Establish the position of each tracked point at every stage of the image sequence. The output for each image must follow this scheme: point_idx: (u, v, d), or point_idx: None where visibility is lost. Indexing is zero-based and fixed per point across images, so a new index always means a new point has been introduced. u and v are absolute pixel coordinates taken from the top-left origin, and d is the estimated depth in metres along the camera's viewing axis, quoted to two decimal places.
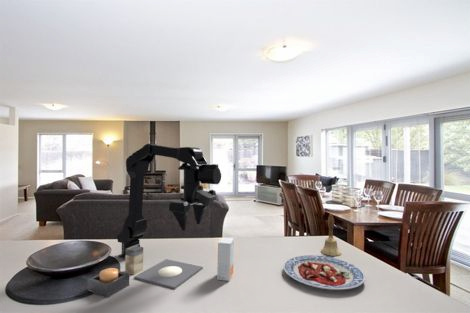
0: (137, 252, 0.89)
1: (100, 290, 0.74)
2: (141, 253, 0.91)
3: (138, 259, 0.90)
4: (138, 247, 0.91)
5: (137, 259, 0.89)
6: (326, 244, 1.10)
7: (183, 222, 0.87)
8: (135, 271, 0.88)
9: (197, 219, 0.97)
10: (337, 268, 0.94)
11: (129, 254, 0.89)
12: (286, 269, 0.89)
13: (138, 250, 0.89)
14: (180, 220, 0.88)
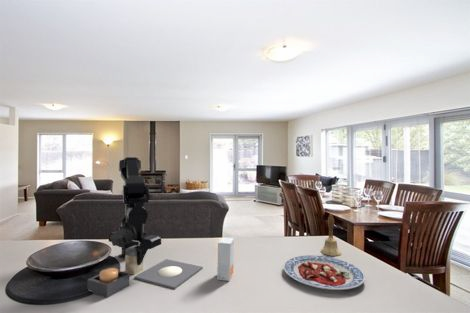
0: None
1: (100, 290, 0.74)
2: None
3: None
4: None
5: None
6: (326, 244, 1.10)
7: None
8: (135, 271, 0.88)
9: None
10: (337, 268, 0.94)
11: (129, 254, 0.89)
12: (286, 269, 0.89)
13: None
14: None
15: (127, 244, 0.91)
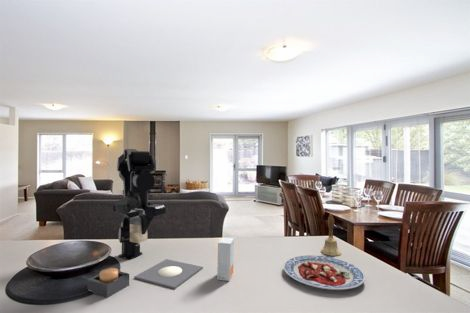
0: None
1: (100, 290, 0.74)
2: None
3: None
4: None
5: None
6: (326, 244, 1.10)
7: None
8: (139, 240, 0.88)
9: None
10: (337, 268, 0.94)
11: (134, 222, 0.88)
12: (286, 269, 0.89)
13: None
14: None
15: (131, 214, 0.91)
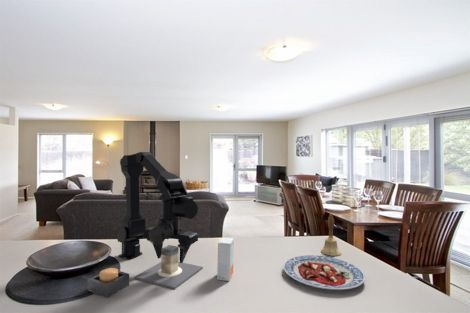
0: (173, 252, 0.88)
1: (100, 290, 0.74)
2: (177, 253, 0.89)
3: (174, 258, 0.88)
4: (173, 247, 0.90)
5: (173, 259, 0.88)
6: (326, 244, 1.10)
7: None
8: (171, 271, 0.87)
9: None
10: (337, 268, 0.94)
11: (166, 253, 0.87)
12: (286, 269, 0.89)
13: (174, 250, 0.88)
14: None
15: None
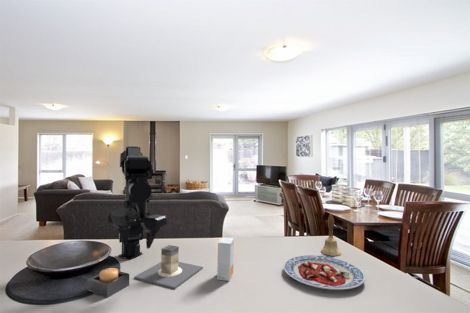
0: (173, 252, 0.88)
1: (100, 290, 0.74)
2: (177, 253, 0.89)
3: (174, 258, 0.88)
4: (173, 247, 0.90)
5: (173, 259, 0.88)
6: (326, 244, 1.10)
7: None
8: (171, 271, 0.87)
9: None
10: (337, 268, 0.94)
11: (166, 253, 0.87)
12: (286, 269, 0.89)
13: (174, 250, 0.88)
14: None
15: None
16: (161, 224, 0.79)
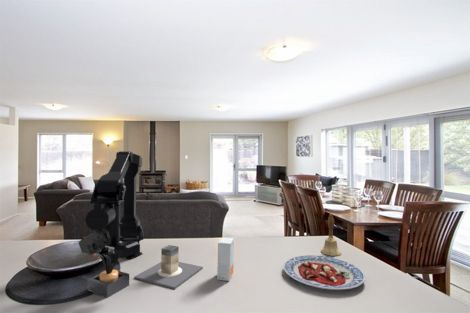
0: (173, 252, 0.88)
1: (100, 290, 0.74)
2: (177, 253, 0.89)
3: (174, 258, 0.88)
4: (173, 247, 0.90)
5: (173, 259, 0.88)
6: (326, 244, 1.10)
7: None
8: (171, 271, 0.87)
9: None
10: (337, 268, 0.94)
11: (166, 253, 0.87)
12: (286, 269, 0.89)
13: (174, 250, 0.88)
14: None
15: (106, 251, 0.78)
16: (133, 251, 0.75)
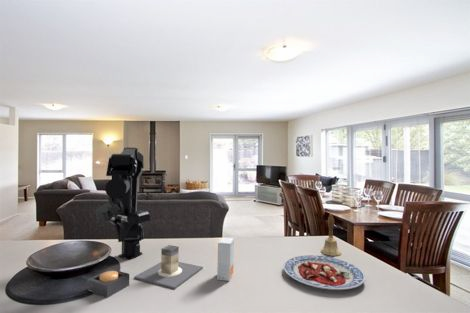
0: (173, 252, 0.88)
1: (100, 290, 0.74)
2: (177, 253, 0.89)
3: (174, 258, 0.88)
4: (173, 247, 0.90)
5: (173, 259, 0.88)
6: (326, 244, 1.10)
7: None
8: (171, 271, 0.87)
9: None
10: (337, 268, 0.94)
11: (166, 253, 0.87)
12: (286, 269, 0.89)
13: (174, 250, 0.88)
14: None
15: (119, 221, 0.85)
16: (144, 220, 0.81)
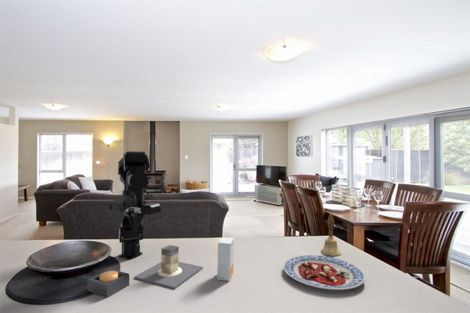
0: (173, 252, 0.88)
1: (100, 290, 0.74)
2: (177, 253, 0.89)
3: (174, 258, 0.88)
4: (173, 247, 0.90)
5: (173, 259, 0.88)
6: (326, 244, 1.10)
7: None
8: (171, 271, 0.87)
9: None
10: (337, 268, 0.94)
11: (166, 253, 0.87)
12: (286, 269, 0.89)
13: (174, 250, 0.88)
14: None
15: (132, 213, 0.93)
16: (155, 211, 0.89)
